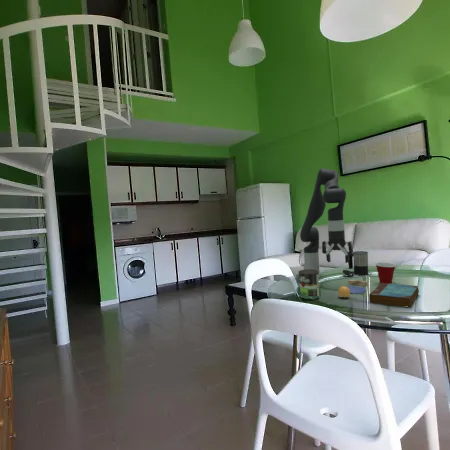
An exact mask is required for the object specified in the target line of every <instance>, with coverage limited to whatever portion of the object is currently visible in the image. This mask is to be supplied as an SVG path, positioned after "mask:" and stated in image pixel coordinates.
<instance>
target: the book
mask: <svg viewBox="0 0 450 450" xmlns="http://www.w3.org/2000/svg"><path fill="white" fill-rule="evenodd" d="M419 290H420V289H419V286H418V285H413V284H412V285H410V284H399V283H392V284H390V283H381V284H380V283H379V285H378V286H377V287H376V288H374V289H373V290H372V291H371V292H370V293H369V295H368V297H369V303H372V304H373V303H374V304H379V303H381V304H380V305H386V306H387V305H388V306H395V305H396V306H395V307H401V306H408V307H407V308H409V307H410V308H411V306H412V305H413V304H414V302H415V300H416V299H417V297H418V296H419V292H420V291H419Z"/></svg>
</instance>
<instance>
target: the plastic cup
mask: <svg viewBox="0 0 450 450" xmlns="http://www.w3.org/2000/svg"><path fill="white" fill-rule="evenodd" d="M375 267H376V271H377V276H378V280H379V285H380V284H381V283H390V284H393V279H394V274H395V273H394V272H395V269H396V267H397V265H396V264H394V263H390V262H375Z"/></svg>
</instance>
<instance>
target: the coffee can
mask: <svg viewBox="0 0 450 450" xmlns="http://www.w3.org/2000/svg"><path fill="white" fill-rule="evenodd" d="M318 273H319V272H318V271H317V270H312V269H305V270H304V269H301V270H299V271H298V280H299V281H298V282H299V283H298V284H299V285H298V286H299V294H300V293H301V294H304V295H308V296H319V297H320V283H319V281H320V278H319V277H318Z"/></svg>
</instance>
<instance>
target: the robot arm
mask: <svg viewBox="0 0 450 450" xmlns="http://www.w3.org/2000/svg"><path fill="white" fill-rule="evenodd" d="M321 186H324V190H323V192H322V187H321ZM346 198H347V192H346V190H345V188H343V187H340V186H339V173H338V171H337V170H334V169H329V168H325V167H323V168H319V170H318V172H317V175H316V179H315V184H314V189H313V193H312V196H311V199H310V202H309V206H308V209H307V214H306V217H305V220H304V223H303V225H302V227H301V229H300V234H299V237H300V241H302V242H303V243H309V244H307V245H306V246H305V247H304V248H303V259H304V262H303V270H305V269H312V270H317V271H318V272H319V273H318V277H319V279H320V278H321V273H320V256H319V249H320V233H319V229H318V228H317V227H315V226H314V225H315V224H316V222H317V221H319V220H320V219H321V217H322V216H323V215H324V213H325V209H326V207H327V206H326V203H327V204H337V205H336V206H335V207H331V208H328V210H327V219H328V220H327V232H328V233H327V235H328V236H327V237H328V241H326V240H324V241H322V243H321V248H322V249H321V251H322V252H321V254H324V255H326V256H325V258H326V262H327V263H330V262H331V252H332V251H341V252H342V253H344V255H345V256H344V259H345V264H348V262H349V254H352V253H353V252H354V248H353V242H352V240H350V241H346V237H345V236H346V234H345V223H344V207H345V203H346ZM327 246H329V248H328V249H327ZM345 246H348V249H347V247H345Z"/></svg>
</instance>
